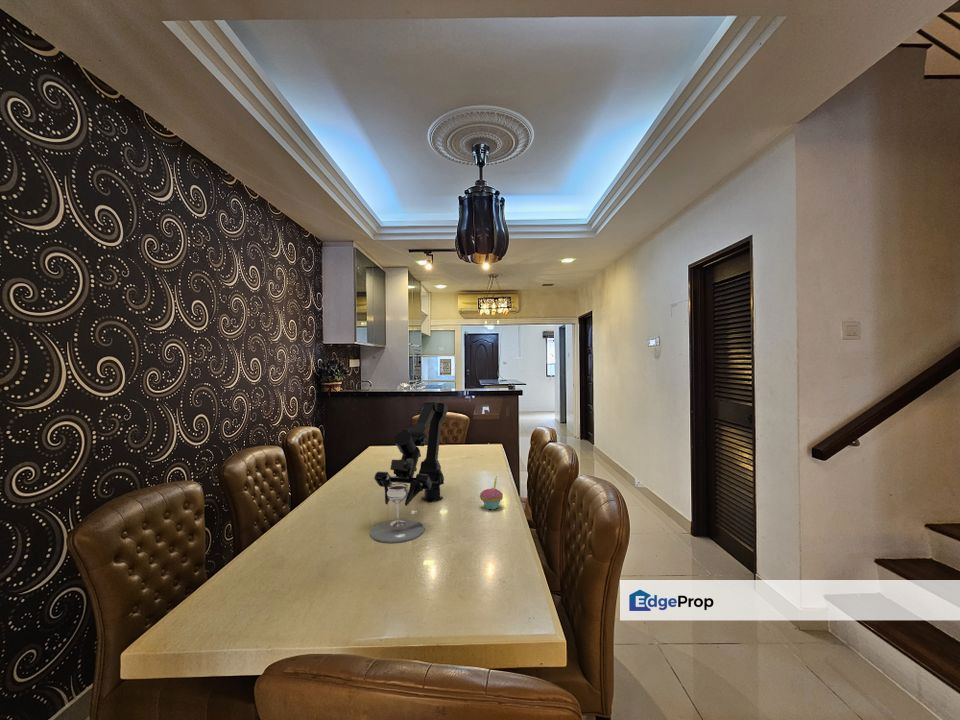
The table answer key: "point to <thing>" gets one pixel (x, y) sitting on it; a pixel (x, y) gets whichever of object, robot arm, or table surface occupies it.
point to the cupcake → (491, 497)
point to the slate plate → (397, 531)
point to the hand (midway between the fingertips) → (395, 504)
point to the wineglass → (397, 499)
